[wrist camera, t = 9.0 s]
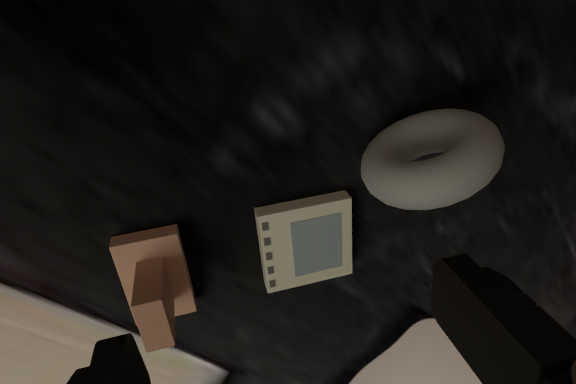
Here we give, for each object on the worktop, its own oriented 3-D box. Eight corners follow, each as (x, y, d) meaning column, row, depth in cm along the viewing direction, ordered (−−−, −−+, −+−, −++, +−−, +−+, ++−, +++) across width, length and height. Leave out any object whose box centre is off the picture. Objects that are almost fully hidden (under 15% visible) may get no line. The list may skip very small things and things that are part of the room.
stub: (176, 223, 33) (178, 273, 27) (195, 299, 36) (200, 357, 31) (111, 236, 32) (99, 291, 26) (137, 313, 36) (131, 374, 30)
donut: (349, 178, 35) (407, 243, 26) (335, 145, 33) (393, 202, 25) (451, 124, 35) (543, 170, 27) (443, 88, 33) (538, 125, 25)
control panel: (344, 190, 35) (352, 198, 34) (346, 263, 39) (352, 274, 38) (254, 208, 34) (257, 217, 33) (264, 282, 38) (268, 294, 36)
